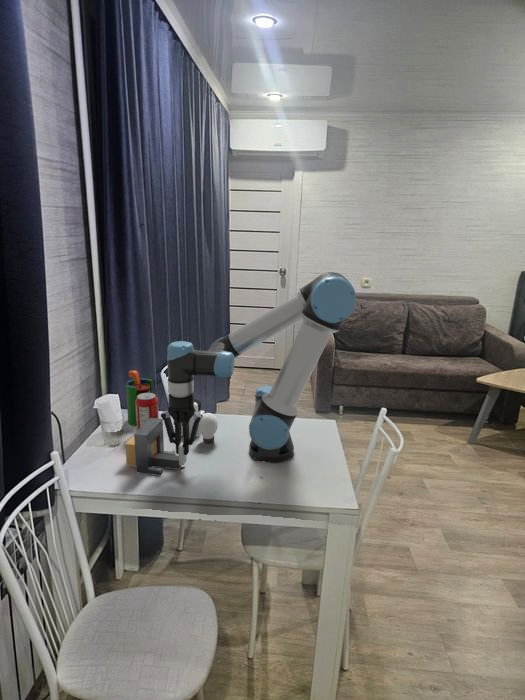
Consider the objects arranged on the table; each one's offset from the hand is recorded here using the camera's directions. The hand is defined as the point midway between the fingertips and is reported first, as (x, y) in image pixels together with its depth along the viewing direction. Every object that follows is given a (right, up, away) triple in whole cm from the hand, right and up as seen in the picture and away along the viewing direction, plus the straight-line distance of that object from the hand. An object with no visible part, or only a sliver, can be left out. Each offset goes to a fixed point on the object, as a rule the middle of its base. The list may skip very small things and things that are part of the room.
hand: (182, 462), depth 139 cm
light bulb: (+6, +3, +17) cm, 18 cm away
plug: (-9, -1, +2) cm, 9 cm away
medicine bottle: (-1, +5, +25) cm, 26 cm away
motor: (-23, +8, +33) cm, 41 cm away
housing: (-9, -1, +2) cm, 9 cm away
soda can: (-17, +5, +22) cm, 28 cm away
